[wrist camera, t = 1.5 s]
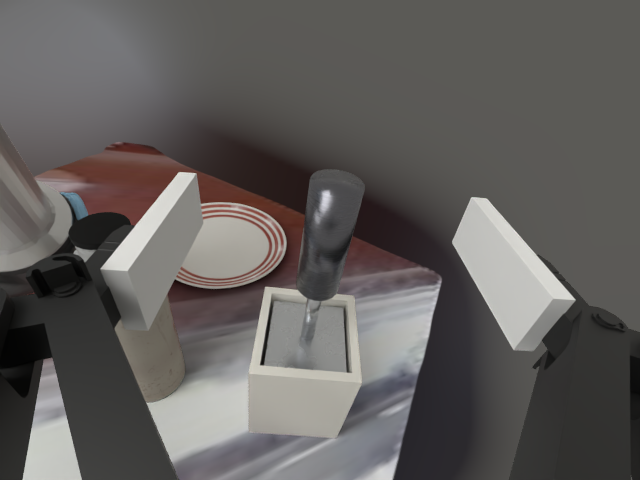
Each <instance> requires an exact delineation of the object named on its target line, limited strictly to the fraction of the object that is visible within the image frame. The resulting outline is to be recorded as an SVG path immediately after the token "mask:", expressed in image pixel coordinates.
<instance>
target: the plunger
mask: <svg viewBox="0 0 640 480" xmlns="http://www.w3.org/2000/svg"><path fill="white" fill-rule="evenodd" d="M364 189H365V187H364V183H363V182H362V181H361V180H360V179H359V178H358V177H356V176H355V175H353V174H350V173H348V172H345V171H341V170H334V169H328V170H327V169H326V170H320V171H317V172H315V173H314V174H312V176H311V178H310V184H309V192H308V199H307V206H306V214H305V221H304V228H303V236H302V243H301V251H300V258H299V265H298V273H297V280H296V286H297V289H298V291H299V292H300V293H301V294H302V295H303V296H304V297H306V298H307V302H306V304H301V303H291V302H281V301H274V305H273V312H272V318H271V324H270V331H269V337H268V343H267V350H266V356H265V362H264V366H273V367H285V368H297V369H309V370H321V371H333V372H345V373H347V370H346V351H345V333H344V314H343V308H341V307H331V306H321V302H322V301H326V300H329V299H331V298H333V297H334V296H335V295H336V293H337V291H338V288H339V284H340V280H341V277H342V273H343V269H344V265H345V261H346V258H347V254H348V250H349V246H350V242H351V239H352V235H353V231H354V227H355V224H356V220H357V216H358V212H359V208H360V205H361V201H362V196H363V193H364Z"/></svg>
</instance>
